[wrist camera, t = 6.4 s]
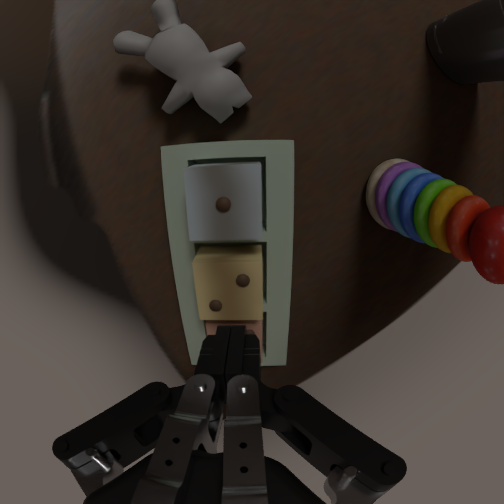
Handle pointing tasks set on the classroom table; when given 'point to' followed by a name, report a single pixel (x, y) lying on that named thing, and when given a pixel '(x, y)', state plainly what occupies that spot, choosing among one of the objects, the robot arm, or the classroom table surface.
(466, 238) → the stacking toy
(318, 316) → the classroom table surface
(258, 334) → the tile
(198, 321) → the number board
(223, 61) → the bunny figurine
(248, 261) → the tile
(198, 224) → the grey block
